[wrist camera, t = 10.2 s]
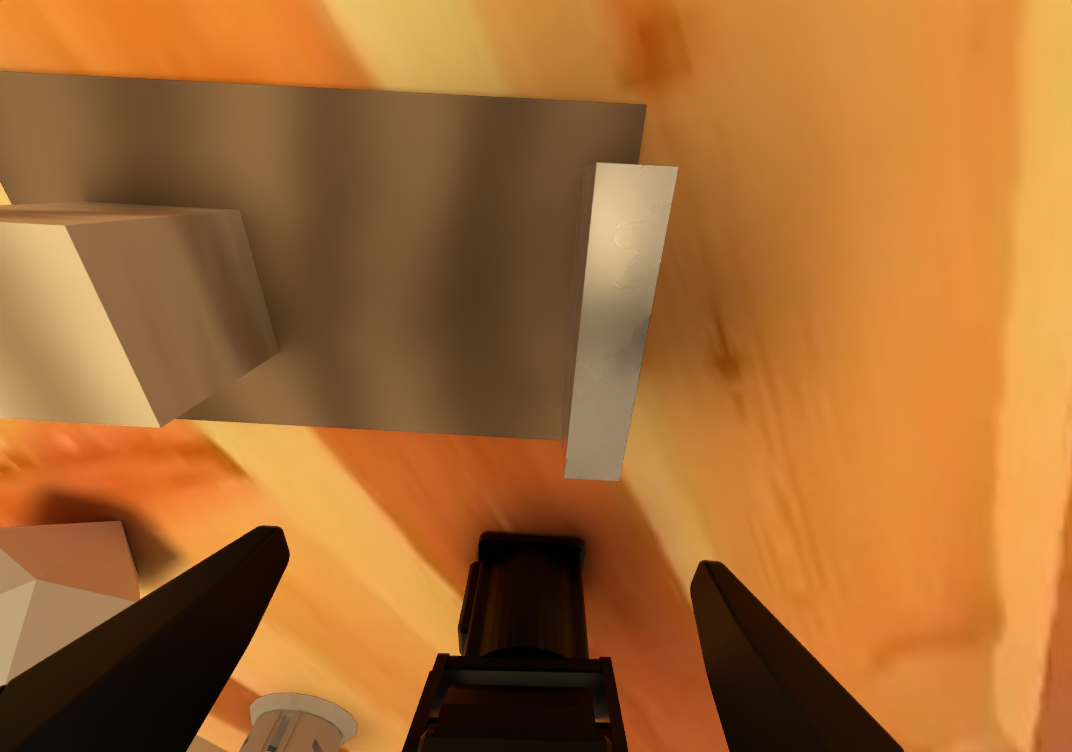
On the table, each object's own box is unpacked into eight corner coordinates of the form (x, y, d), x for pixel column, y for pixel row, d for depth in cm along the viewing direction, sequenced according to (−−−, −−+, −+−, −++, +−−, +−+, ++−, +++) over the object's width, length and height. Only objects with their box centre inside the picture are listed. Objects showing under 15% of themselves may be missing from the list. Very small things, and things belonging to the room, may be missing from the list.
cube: (239, 209, 15) (64, 225, 9) (279, 352, 18) (160, 427, 12) (85, 201, 15) (-177, 212, 9) (148, 345, 18) (-27, 416, 12)
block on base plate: (641, 108, 14) (698, 63, 8) (595, 433, 20) (611, 521, 15) (-28, 74, 14) (-375, 8, 9) (137, 407, 20) (-6, 485, 15)
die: (23, 466, 23) (-215, 646, 18) (63, 522, 19) (-234, 778, 14) (158, 519, 29) (7, 665, 24) (211, 570, 25) (42, 761, 20)
